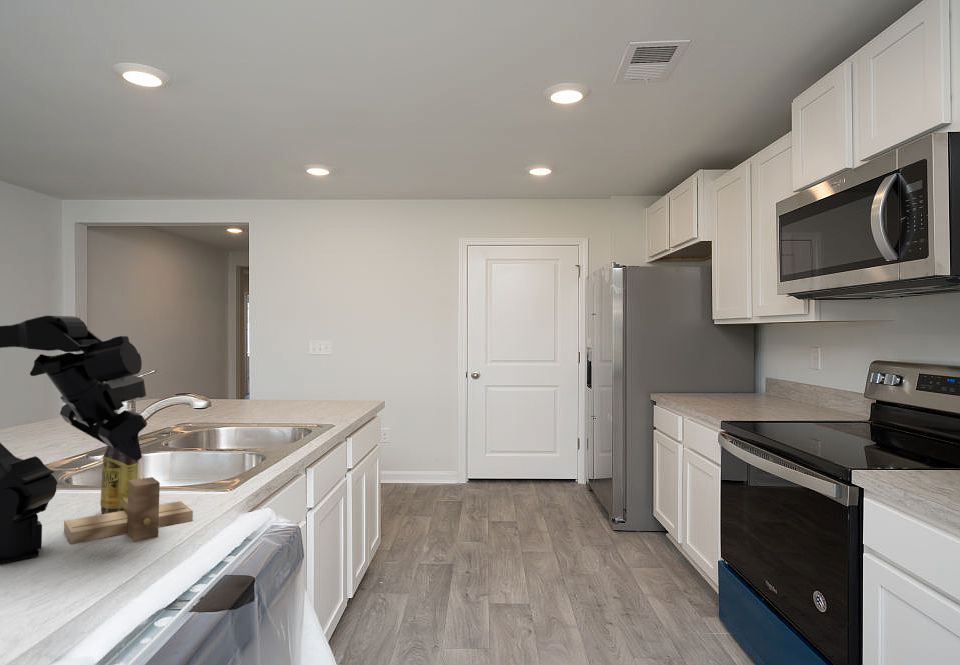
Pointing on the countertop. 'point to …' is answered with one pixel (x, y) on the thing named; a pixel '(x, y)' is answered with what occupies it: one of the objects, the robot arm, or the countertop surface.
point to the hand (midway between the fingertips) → (126, 452)
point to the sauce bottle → (116, 479)
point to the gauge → (142, 508)
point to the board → (120, 522)
